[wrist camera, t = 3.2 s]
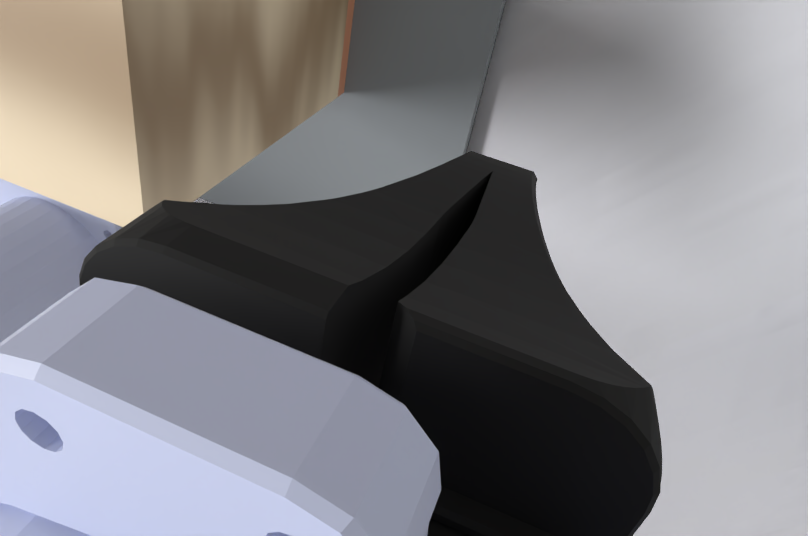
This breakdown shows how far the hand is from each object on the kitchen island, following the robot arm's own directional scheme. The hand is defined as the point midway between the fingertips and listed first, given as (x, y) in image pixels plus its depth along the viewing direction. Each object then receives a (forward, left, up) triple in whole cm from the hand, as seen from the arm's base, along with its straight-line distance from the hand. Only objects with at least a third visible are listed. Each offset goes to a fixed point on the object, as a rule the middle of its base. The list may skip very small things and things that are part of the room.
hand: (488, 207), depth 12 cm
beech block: (0, +9, -8) cm, 12 cm away
